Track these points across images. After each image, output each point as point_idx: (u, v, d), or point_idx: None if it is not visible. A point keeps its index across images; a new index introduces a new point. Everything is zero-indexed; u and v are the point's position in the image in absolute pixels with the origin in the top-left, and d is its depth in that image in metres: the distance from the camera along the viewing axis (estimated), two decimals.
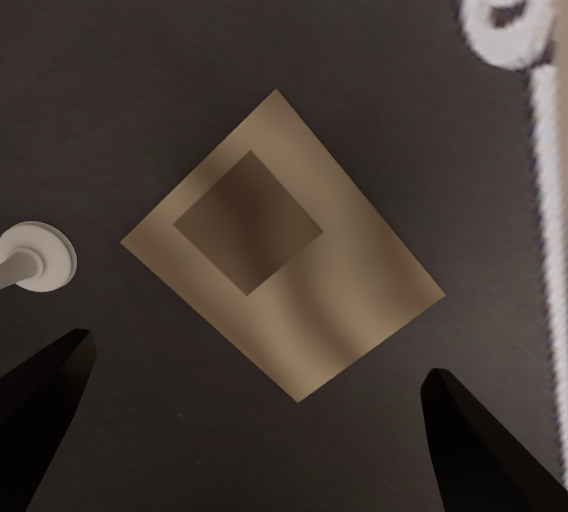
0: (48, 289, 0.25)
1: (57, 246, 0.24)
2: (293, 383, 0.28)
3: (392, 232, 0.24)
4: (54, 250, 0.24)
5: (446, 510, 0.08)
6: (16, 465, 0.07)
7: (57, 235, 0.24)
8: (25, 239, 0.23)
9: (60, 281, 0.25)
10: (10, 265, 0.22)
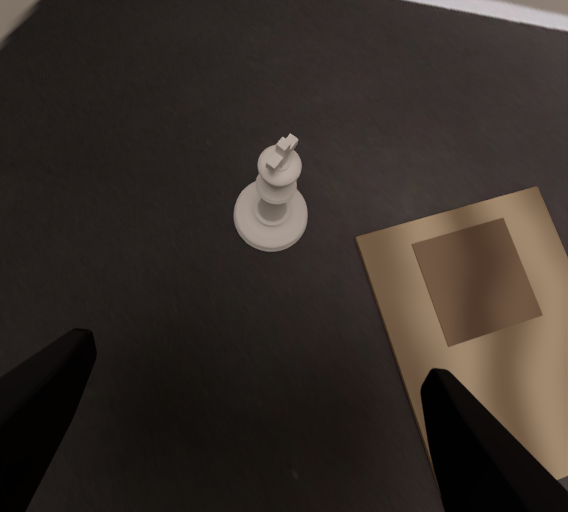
0: (265, 244, 0.23)
1: (303, 211, 0.24)
2: None
3: None
4: (299, 212, 0.24)
5: (446, 510, 0.08)
6: (16, 465, 0.07)
7: (305, 204, 0.24)
8: None
9: (282, 242, 0.23)
10: None
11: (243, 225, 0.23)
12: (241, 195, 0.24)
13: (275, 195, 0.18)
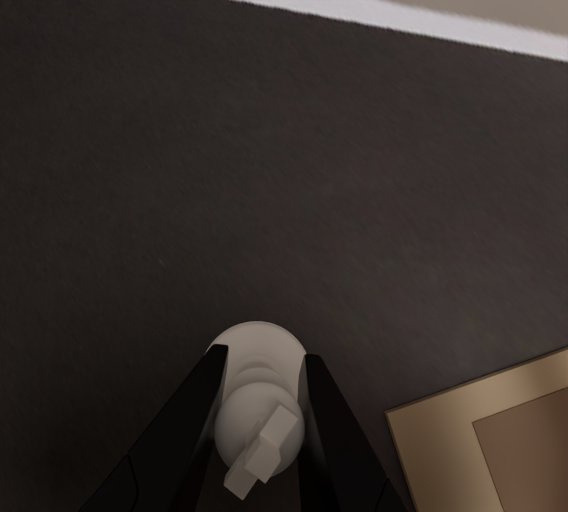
0: None
1: None
2: None
3: None
4: None
5: (300, 498, 0.08)
6: (195, 480, 0.07)
7: None
8: (272, 348, 0.15)
9: None
10: None
11: None
12: None
13: None
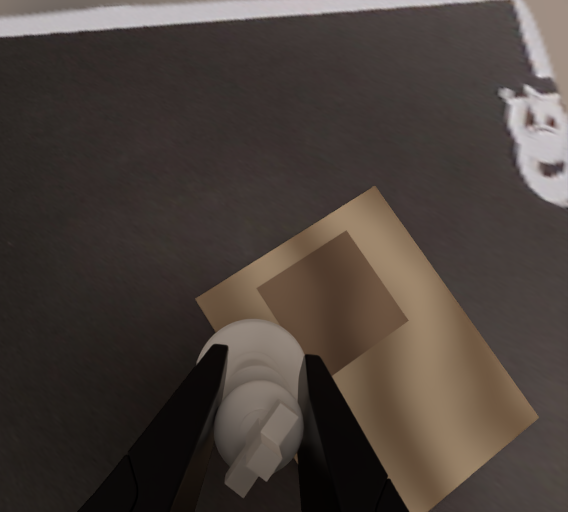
0: None
1: None
2: None
3: (477, 332, 0.24)
4: (296, 380, 0.15)
5: (301, 498, 0.08)
6: (195, 480, 0.07)
7: None
8: (269, 345, 0.15)
9: None
10: None
11: None
12: (205, 352, 0.15)
13: None
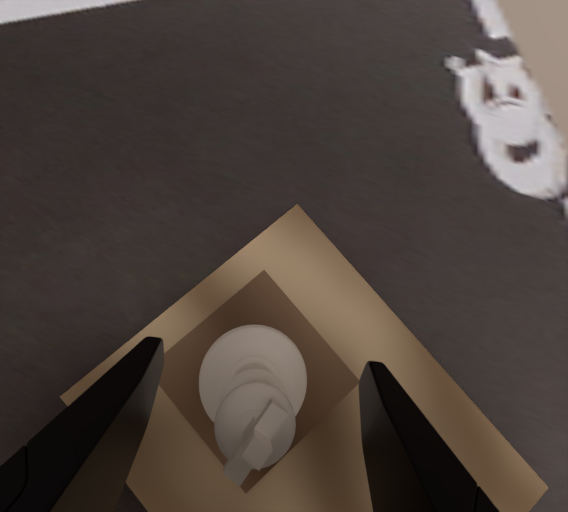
0: None
1: (300, 379, 0.16)
2: None
3: (453, 383, 0.18)
4: (295, 382, 0.16)
5: (372, 504, 0.08)
6: (109, 473, 0.07)
7: (303, 363, 0.17)
8: (269, 350, 0.16)
9: None
10: None
11: (211, 406, 0.16)
12: (209, 357, 0.16)
13: None
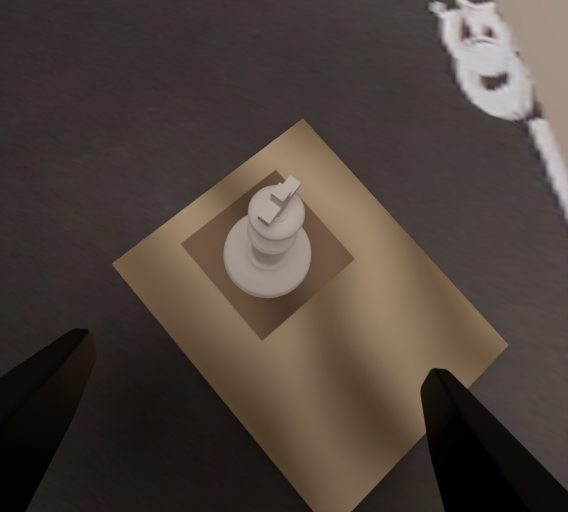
0: (260, 291, 0.19)
1: (306, 250, 0.20)
2: (323, 492, 0.19)
3: (431, 263, 0.21)
4: (301, 252, 0.20)
5: (446, 510, 0.08)
6: (16, 465, 0.07)
7: (308, 240, 0.20)
8: None
9: (281, 288, 0.19)
10: None
11: (234, 268, 0.19)
12: (232, 231, 0.20)
13: (272, 244, 0.15)
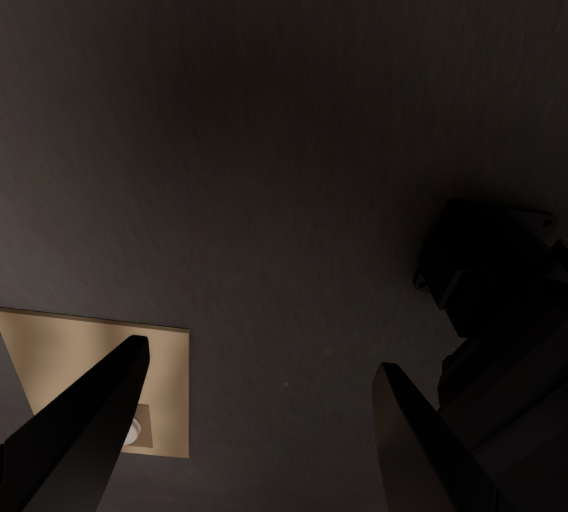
0: None
1: None
2: (175, 347, 0.28)
3: (16, 368, 0.30)
4: None
5: (388, 505, 0.08)
6: (90, 471, 0.07)
7: None
8: None
9: None
10: None
11: (132, 438, 0.33)
12: None
13: None
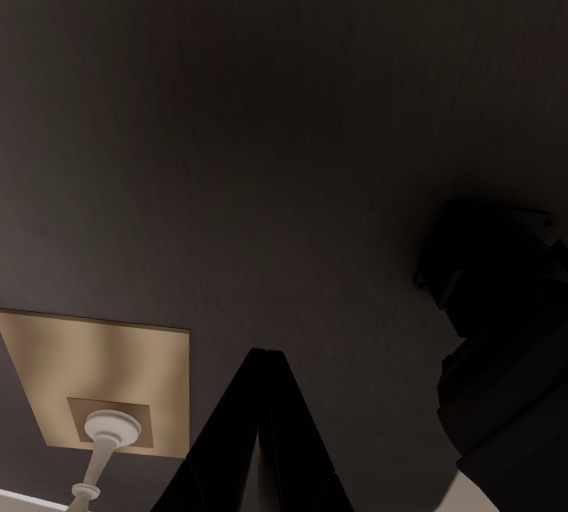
0: (128, 426, 0.32)
1: (90, 423, 0.32)
2: (176, 347, 0.28)
3: (17, 368, 0.30)
4: (93, 425, 0.32)
5: (258, 494, 0.08)
6: (244, 485, 0.07)
7: (86, 421, 0.33)
8: None
9: (117, 421, 0.32)
10: None
11: (133, 438, 0.33)
12: None
13: (89, 492, 0.28)
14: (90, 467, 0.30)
